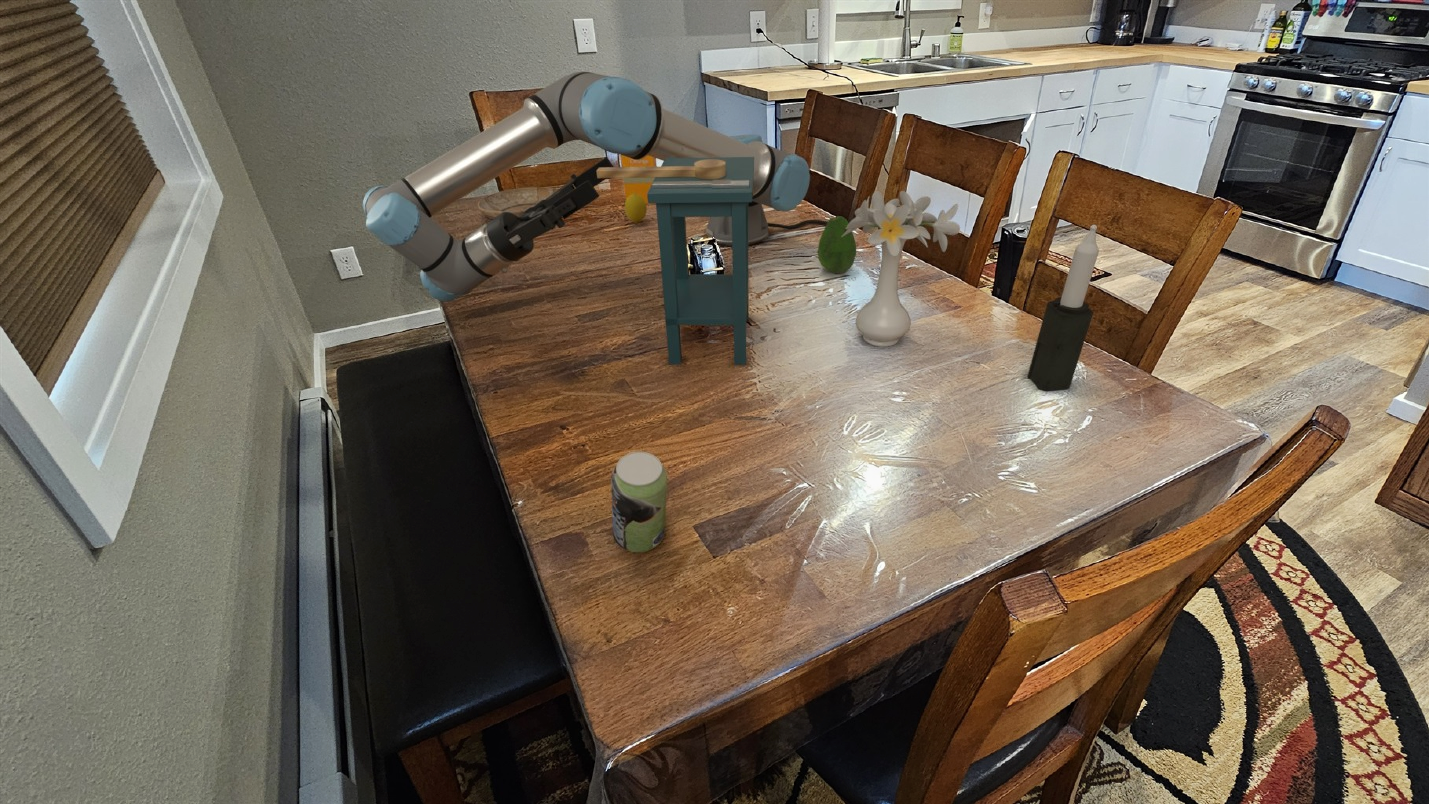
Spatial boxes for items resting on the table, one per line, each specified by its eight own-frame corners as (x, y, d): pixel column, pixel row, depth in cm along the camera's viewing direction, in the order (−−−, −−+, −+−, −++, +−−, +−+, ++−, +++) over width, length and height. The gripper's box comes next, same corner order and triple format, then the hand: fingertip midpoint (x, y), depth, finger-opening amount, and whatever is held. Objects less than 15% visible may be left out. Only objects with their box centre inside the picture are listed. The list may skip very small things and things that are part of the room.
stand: (662, 367, 110) (647, 193, 94) (676, 314, 127) (664, 158, 110) (752, 368, 109) (752, 191, 93) (754, 314, 125) (754, 156, 109)
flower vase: (949, 344, 114) (977, 199, 100) (855, 364, 109) (870, 215, 95) (907, 313, 124) (927, 177, 110) (819, 330, 119) (828, 191, 105)
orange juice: (657, 204, 185) (650, 128, 174) (625, 205, 185) (617, 129, 174) (659, 195, 191) (653, 122, 180) (629, 196, 192) (621, 123, 181)
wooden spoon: (595, 181, 100) (593, 169, 99) (601, 172, 104) (600, 160, 103) (725, 179, 99) (724, 166, 98) (726, 170, 103) (726, 158, 102)
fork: (652, 189, 95) (651, 185, 95) (654, 184, 97) (654, 180, 97) (748, 188, 94) (748, 184, 94) (749, 183, 96) (749, 179, 96)
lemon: (644, 227, 169) (641, 196, 164) (623, 227, 170) (620, 195, 165) (650, 220, 173) (647, 190, 169) (630, 220, 174) (627, 189, 170)
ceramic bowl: (586, 210, 183) (583, 191, 180) (524, 236, 166) (520, 216, 163) (526, 198, 193) (523, 181, 190) (462, 222, 177) (458, 204, 174)
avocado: (831, 262, 146) (835, 208, 139) (861, 271, 141) (866, 216, 134) (808, 273, 141) (811, 218, 134) (838, 283, 136) (843, 226, 130)
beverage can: (636, 513, 81) (626, 435, 74) (684, 536, 77) (678, 457, 71) (602, 544, 77) (587, 465, 70) (650, 571, 73) (640, 490, 66)
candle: (1024, 374, 105) (1066, 219, 91) (1055, 372, 105) (1101, 217, 91) (1040, 391, 100) (1086, 232, 87) (1072, 389, 101) (1124, 230, 87)
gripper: (537, 235, 121) (630, 175, 114) (490, 292, 100) (600, 222, 93) (510, 200, 118) (604, 136, 111) (456, 251, 97) (567, 176, 90)
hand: (603, 175), depth 102 cm, fingers open, 13 cm apart
